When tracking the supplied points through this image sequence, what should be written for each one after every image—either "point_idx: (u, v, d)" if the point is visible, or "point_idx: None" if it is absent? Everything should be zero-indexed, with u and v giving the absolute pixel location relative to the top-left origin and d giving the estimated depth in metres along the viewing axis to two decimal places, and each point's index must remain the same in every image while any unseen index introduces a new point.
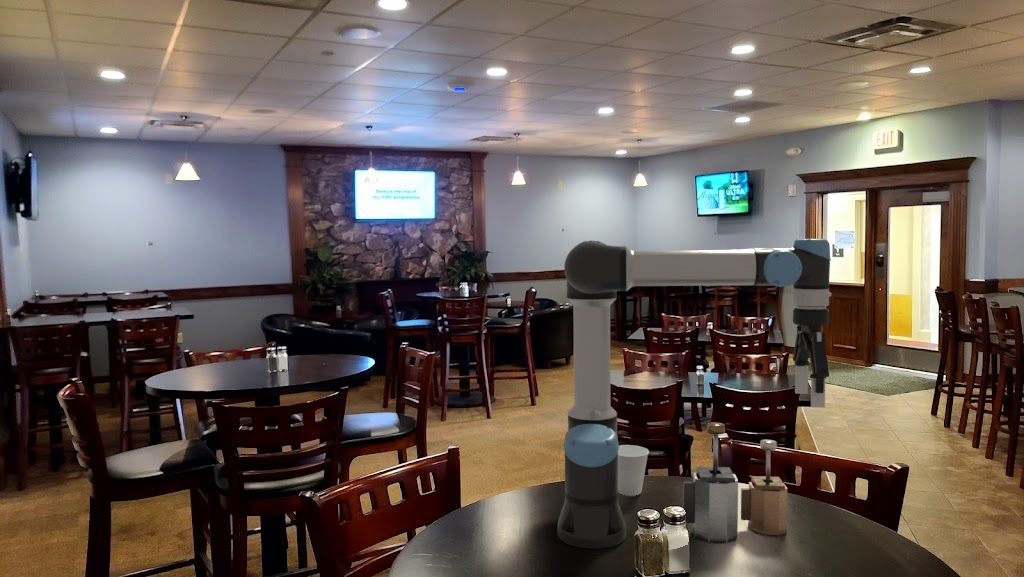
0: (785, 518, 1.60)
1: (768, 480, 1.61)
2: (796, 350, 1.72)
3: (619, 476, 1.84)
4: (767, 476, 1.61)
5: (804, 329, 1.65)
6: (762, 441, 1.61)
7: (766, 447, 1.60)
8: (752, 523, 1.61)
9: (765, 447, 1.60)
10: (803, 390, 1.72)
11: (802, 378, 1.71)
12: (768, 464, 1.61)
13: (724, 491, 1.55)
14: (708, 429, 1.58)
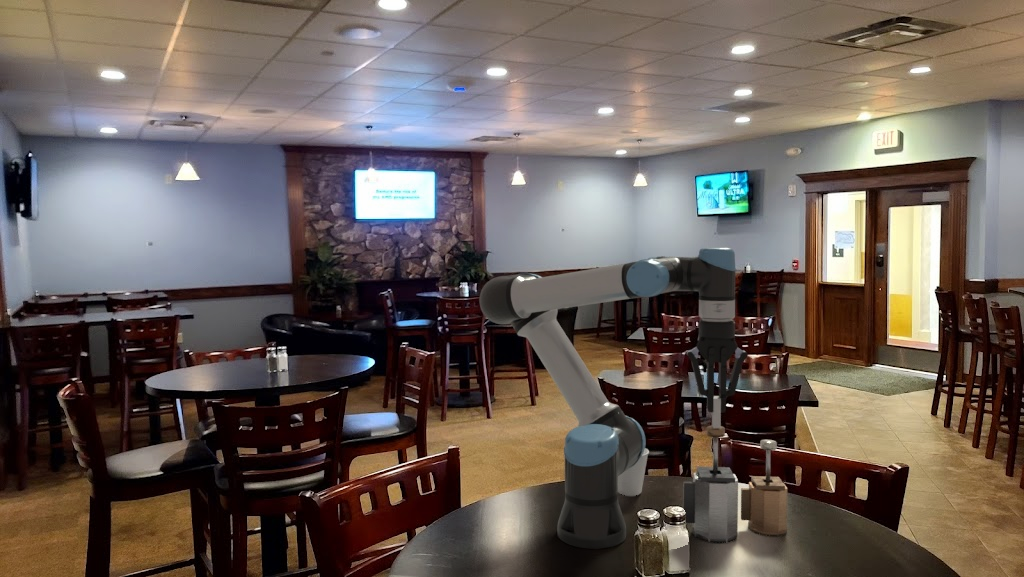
0: (785, 518, 1.60)
1: (768, 480, 1.61)
2: None
3: (619, 476, 1.84)
4: (767, 476, 1.61)
5: None
6: (762, 441, 1.61)
7: (766, 447, 1.60)
8: (752, 523, 1.61)
9: (765, 447, 1.60)
10: None
11: None
12: (768, 464, 1.61)
13: (724, 491, 1.55)
14: (708, 432, 1.58)
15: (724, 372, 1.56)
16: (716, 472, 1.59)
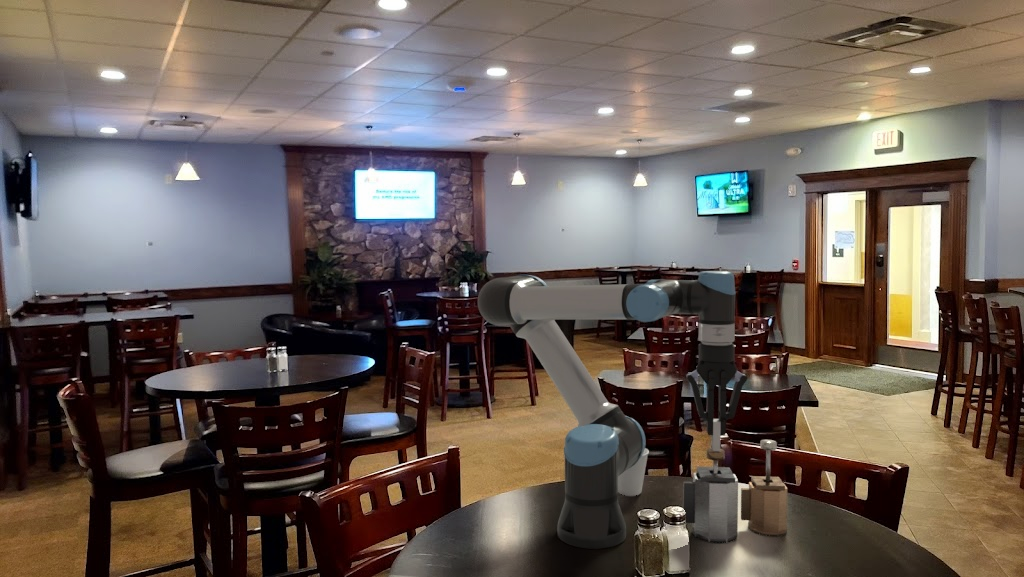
0: (785, 518, 1.60)
1: (768, 480, 1.61)
2: (730, 400, 1.59)
3: (619, 476, 1.84)
4: (767, 476, 1.61)
5: None
6: (762, 441, 1.61)
7: (766, 447, 1.60)
8: (752, 523, 1.61)
9: (765, 447, 1.60)
10: None
11: None
12: (768, 464, 1.61)
13: (724, 491, 1.55)
14: (708, 455, 1.58)
15: (724, 395, 1.56)
16: None
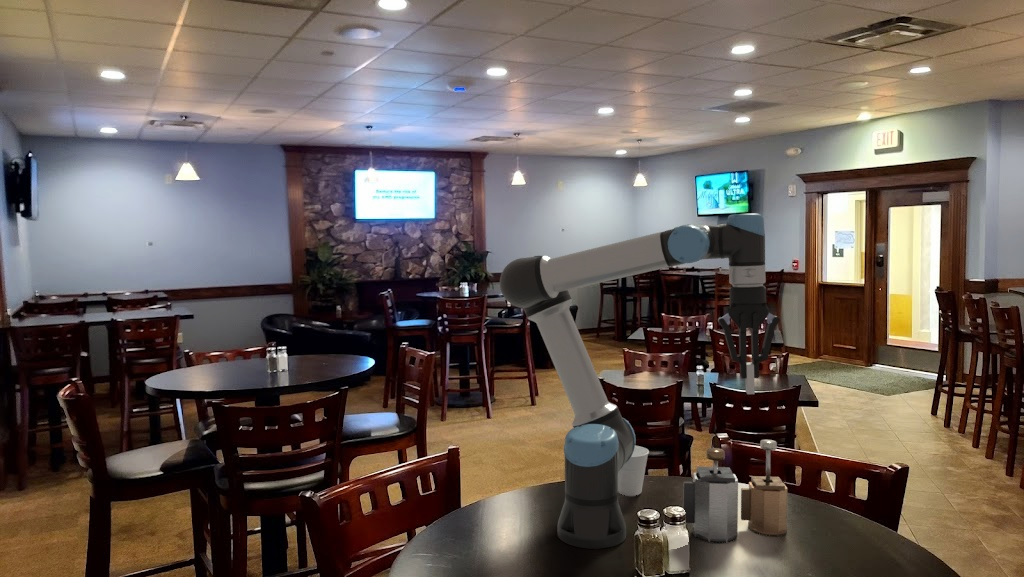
0: (785, 518, 1.60)
1: (768, 480, 1.61)
2: (763, 343, 1.58)
3: (619, 476, 1.84)
4: (767, 476, 1.61)
5: None
6: (762, 441, 1.61)
7: (766, 447, 1.60)
8: (752, 523, 1.61)
9: (765, 447, 1.60)
10: None
11: None
12: (768, 464, 1.61)
13: (724, 491, 1.55)
14: (708, 455, 1.58)
15: (756, 337, 1.56)
16: None
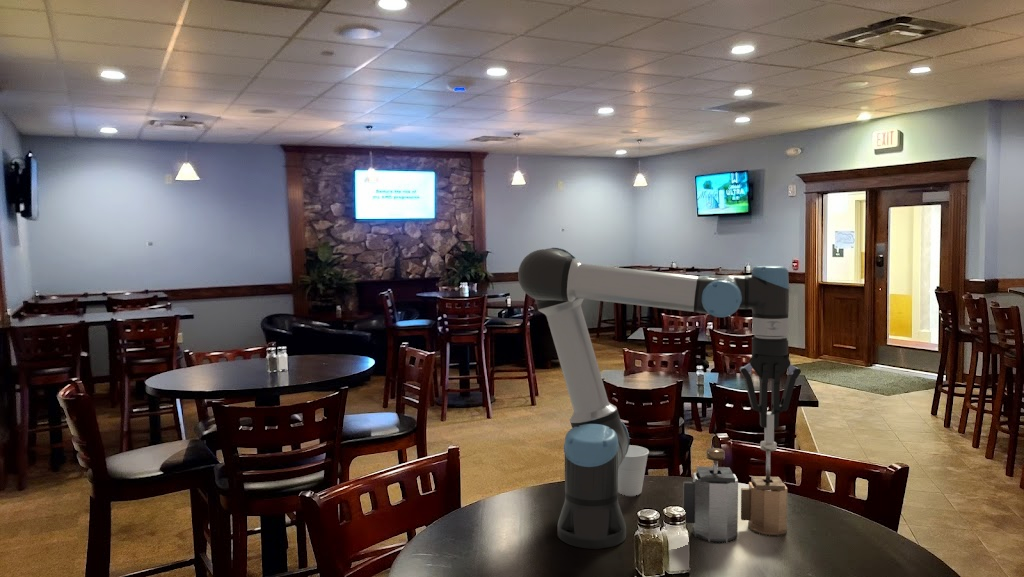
0: (785, 518, 1.60)
1: (768, 481, 1.61)
2: (783, 393, 1.61)
3: (619, 476, 1.84)
4: (767, 477, 1.61)
5: None
6: (762, 442, 1.61)
7: (766, 448, 1.60)
8: (752, 523, 1.61)
9: (765, 448, 1.60)
10: None
11: None
12: (768, 465, 1.61)
13: (724, 491, 1.55)
14: (708, 455, 1.58)
15: (777, 388, 1.59)
16: None
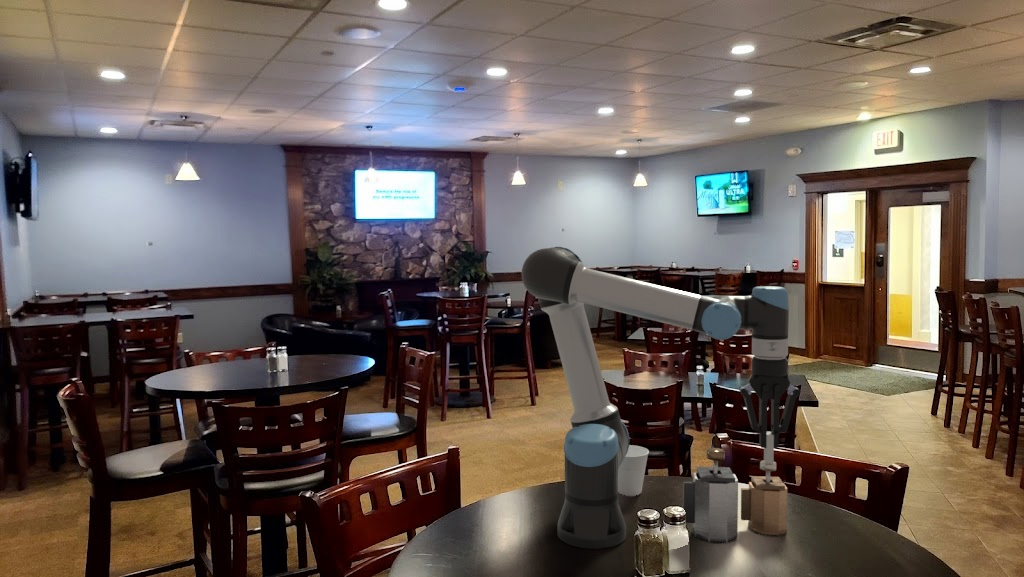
0: (785, 518, 1.60)
1: None
2: (783, 413, 1.61)
3: (619, 476, 1.84)
4: None
5: None
6: (762, 462, 1.62)
7: (766, 468, 1.60)
8: (752, 523, 1.61)
9: (765, 468, 1.60)
10: None
11: None
12: None
13: (724, 491, 1.55)
14: (708, 455, 1.58)
15: (777, 409, 1.59)
16: None
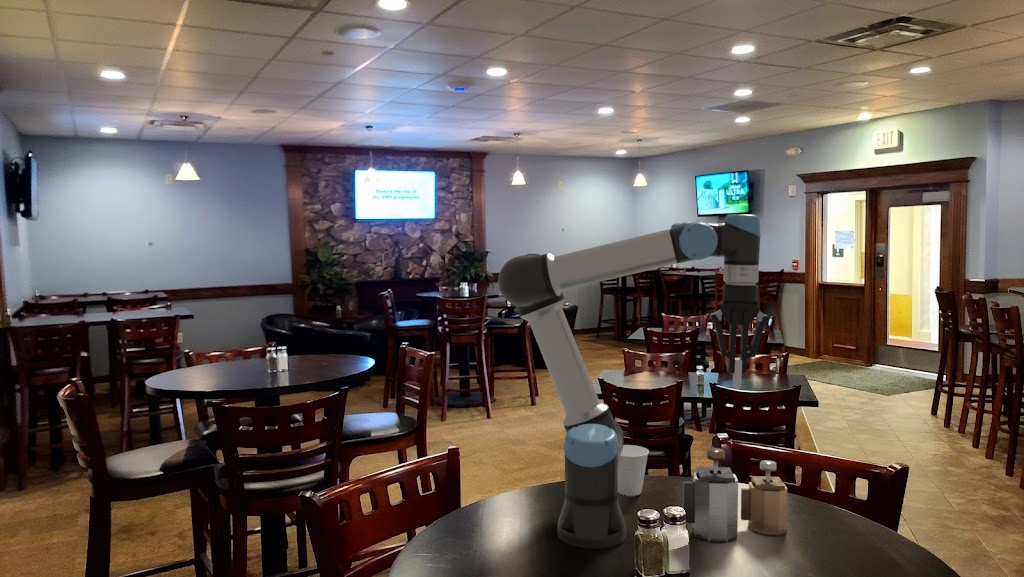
0: (785, 518, 1.60)
1: None
2: (752, 340, 1.64)
3: (619, 476, 1.84)
4: None
5: None
6: (762, 462, 1.62)
7: (766, 468, 1.60)
8: (752, 523, 1.61)
9: (765, 468, 1.60)
10: None
11: None
12: None
13: (724, 491, 1.55)
14: (708, 455, 1.58)
15: (746, 334, 1.62)
16: None
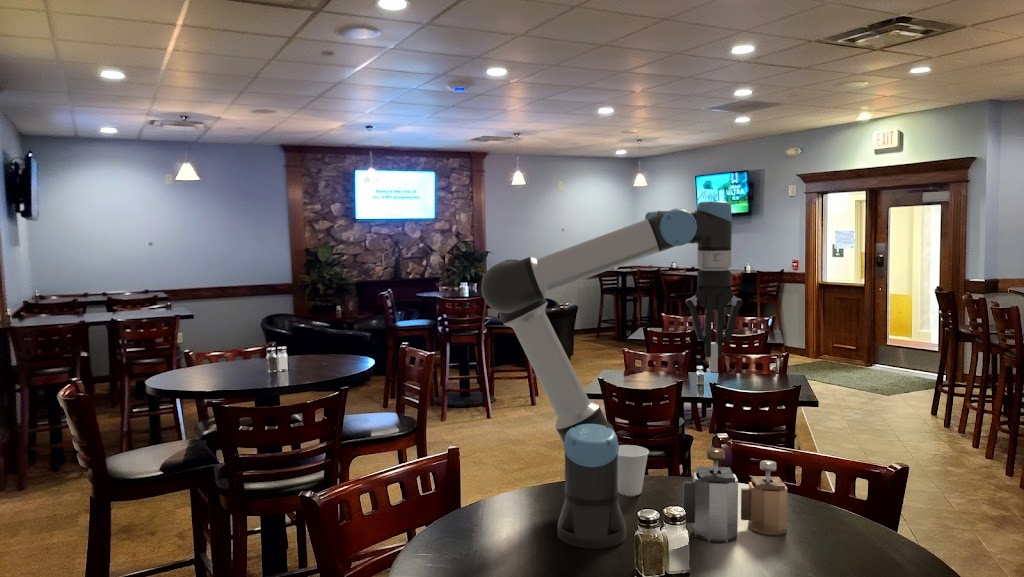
0: (785, 518, 1.60)
1: None
2: (727, 324, 1.68)
3: (619, 476, 1.84)
4: None
5: None
6: (762, 462, 1.62)
7: (766, 468, 1.60)
8: (752, 523, 1.61)
9: (765, 468, 1.60)
10: None
11: None
12: None
13: (724, 491, 1.55)
14: (708, 455, 1.58)
15: (721, 319, 1.66)
16: None
